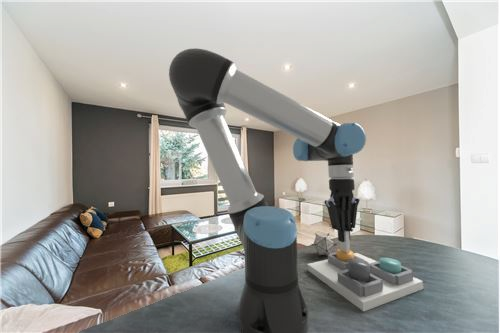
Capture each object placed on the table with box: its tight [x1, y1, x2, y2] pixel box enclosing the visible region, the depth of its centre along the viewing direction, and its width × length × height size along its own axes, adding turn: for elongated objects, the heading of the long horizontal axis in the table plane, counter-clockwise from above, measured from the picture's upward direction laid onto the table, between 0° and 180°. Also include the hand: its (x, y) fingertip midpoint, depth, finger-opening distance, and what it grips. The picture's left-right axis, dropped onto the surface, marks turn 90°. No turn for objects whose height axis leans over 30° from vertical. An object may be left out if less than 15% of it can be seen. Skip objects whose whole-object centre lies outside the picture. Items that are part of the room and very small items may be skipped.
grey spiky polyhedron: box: [311, 232, 338, 257], centre depth 72 cm, size 9×8×10 cm
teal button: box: [378, 257, 402, 275], centre depth 53 cm, size 5×5×4 cm
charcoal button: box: [348, 258, 370, 281], centre depth 49 cm, size 5×5×4 cm
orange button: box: [335, 248, 354, 262], centre depth 60 cm, size 5×5×4 cm
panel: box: [307, 252, 424, 312], centre depth 55 cm, size 22×20×4 cm
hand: (344, 250), depth 60 cm, fingers closed
